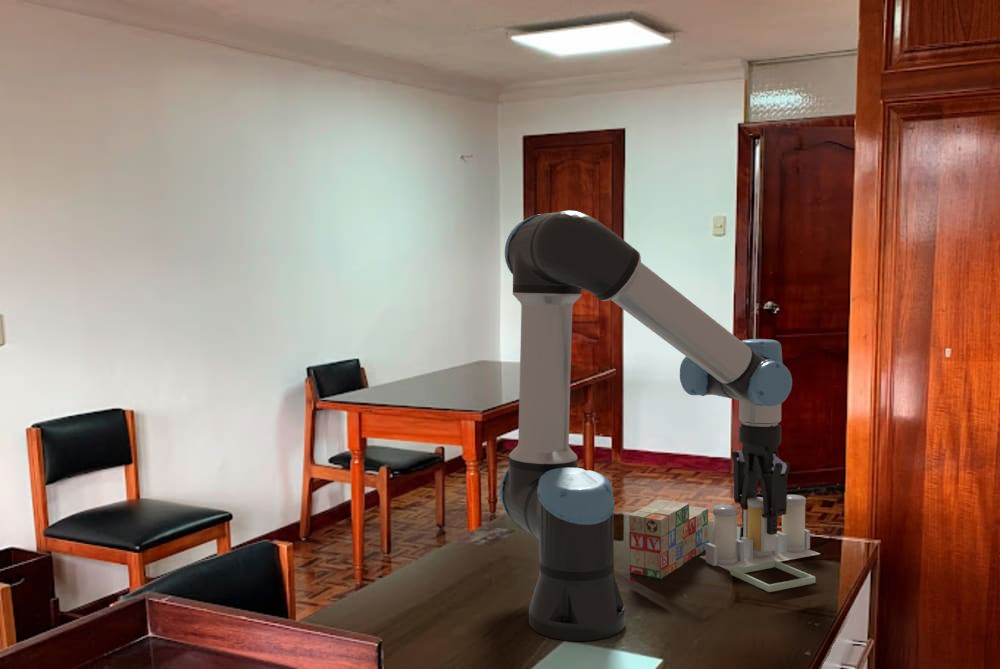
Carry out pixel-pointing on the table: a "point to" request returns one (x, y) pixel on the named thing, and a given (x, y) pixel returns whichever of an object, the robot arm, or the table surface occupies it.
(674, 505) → the stack of blocks
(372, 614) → the table surface
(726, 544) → the ball
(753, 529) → the fuse amber
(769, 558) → the fuse panel
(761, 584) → the tray
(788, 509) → the fuse cream far
